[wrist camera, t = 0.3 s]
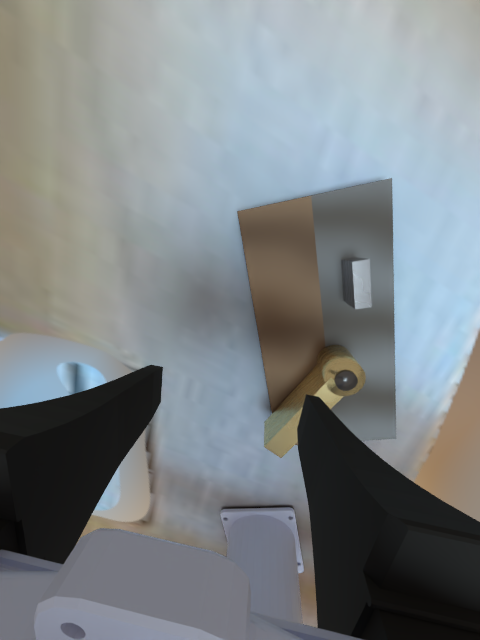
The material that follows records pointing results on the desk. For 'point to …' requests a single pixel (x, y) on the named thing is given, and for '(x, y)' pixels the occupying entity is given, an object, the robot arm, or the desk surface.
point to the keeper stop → (356, 282)
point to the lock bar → (323, 381)
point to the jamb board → (325, 295)
